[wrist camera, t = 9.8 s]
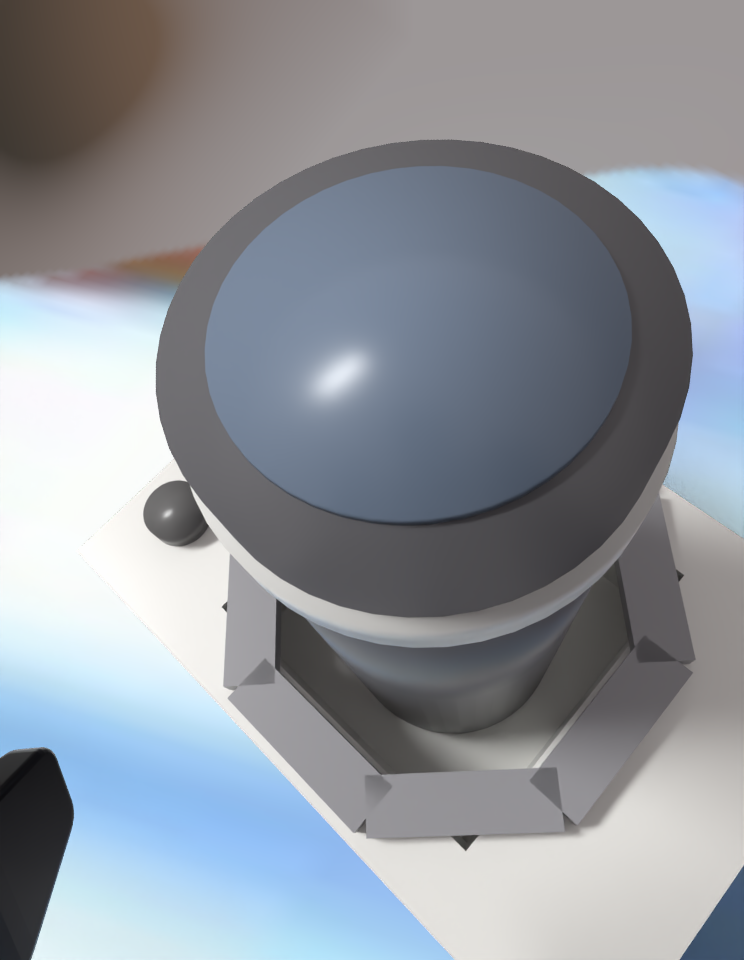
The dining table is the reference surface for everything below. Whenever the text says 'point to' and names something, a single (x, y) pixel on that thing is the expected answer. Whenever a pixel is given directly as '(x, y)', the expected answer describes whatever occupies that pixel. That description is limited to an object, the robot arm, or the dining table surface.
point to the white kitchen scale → (493, 739)
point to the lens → (429, 409)
